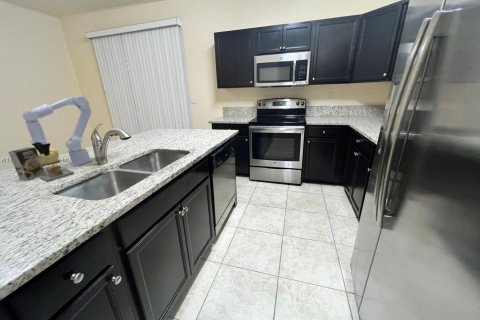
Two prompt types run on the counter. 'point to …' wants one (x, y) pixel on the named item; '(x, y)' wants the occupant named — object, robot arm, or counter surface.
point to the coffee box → (27, 163)
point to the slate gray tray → (48, 178)
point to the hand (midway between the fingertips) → (45, 154)
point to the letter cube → (54, 170)
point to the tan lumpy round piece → (49, 157)
